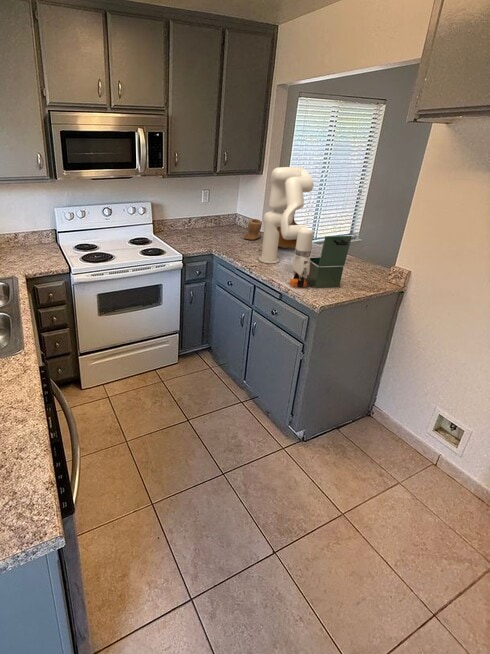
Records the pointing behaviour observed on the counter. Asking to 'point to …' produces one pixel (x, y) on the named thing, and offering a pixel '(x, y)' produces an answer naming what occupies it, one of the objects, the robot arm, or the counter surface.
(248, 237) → the stone cup
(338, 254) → the hinged box lid
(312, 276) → the green open box
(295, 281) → the block
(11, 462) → the counter surface
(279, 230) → the ceramic pitcher
